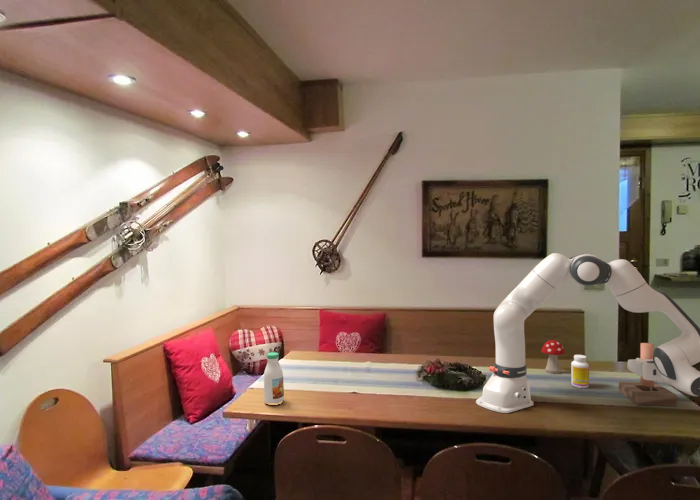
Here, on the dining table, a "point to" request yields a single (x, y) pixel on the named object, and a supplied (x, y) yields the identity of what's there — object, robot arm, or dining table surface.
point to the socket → (647, 394)
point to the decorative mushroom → (553, 356)
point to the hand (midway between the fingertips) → (645, 359)
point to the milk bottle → (273, 380)
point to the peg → (646, 353)
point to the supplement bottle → (580, 372)
